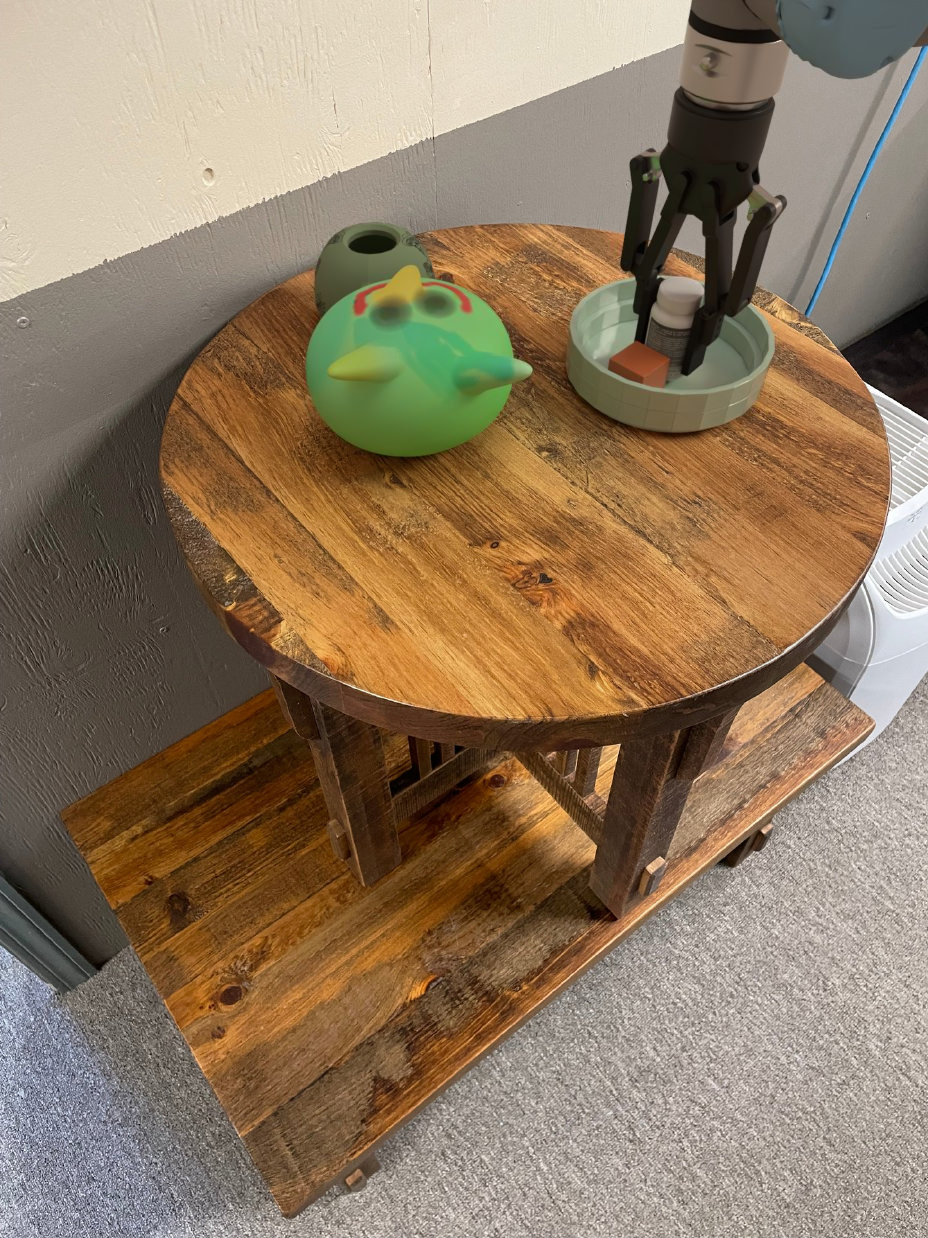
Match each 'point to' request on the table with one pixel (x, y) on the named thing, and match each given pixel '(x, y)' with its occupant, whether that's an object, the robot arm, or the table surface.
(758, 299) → the table surface
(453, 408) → the toy bird
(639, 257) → the robot arm
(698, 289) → the pill bottle
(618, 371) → the block
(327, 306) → the mug
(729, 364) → the bowl
